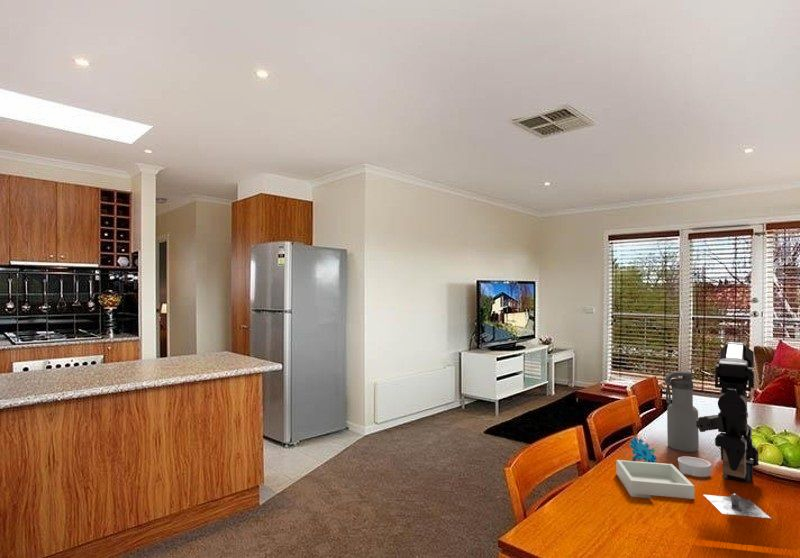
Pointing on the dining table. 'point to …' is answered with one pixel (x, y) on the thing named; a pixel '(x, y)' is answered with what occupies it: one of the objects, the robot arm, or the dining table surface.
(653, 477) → the bin
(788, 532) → the dining table surface
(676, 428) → the water bottle
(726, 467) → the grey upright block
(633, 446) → the blue coral
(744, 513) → the stud plate
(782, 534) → the dining table surface
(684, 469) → the ramekin
